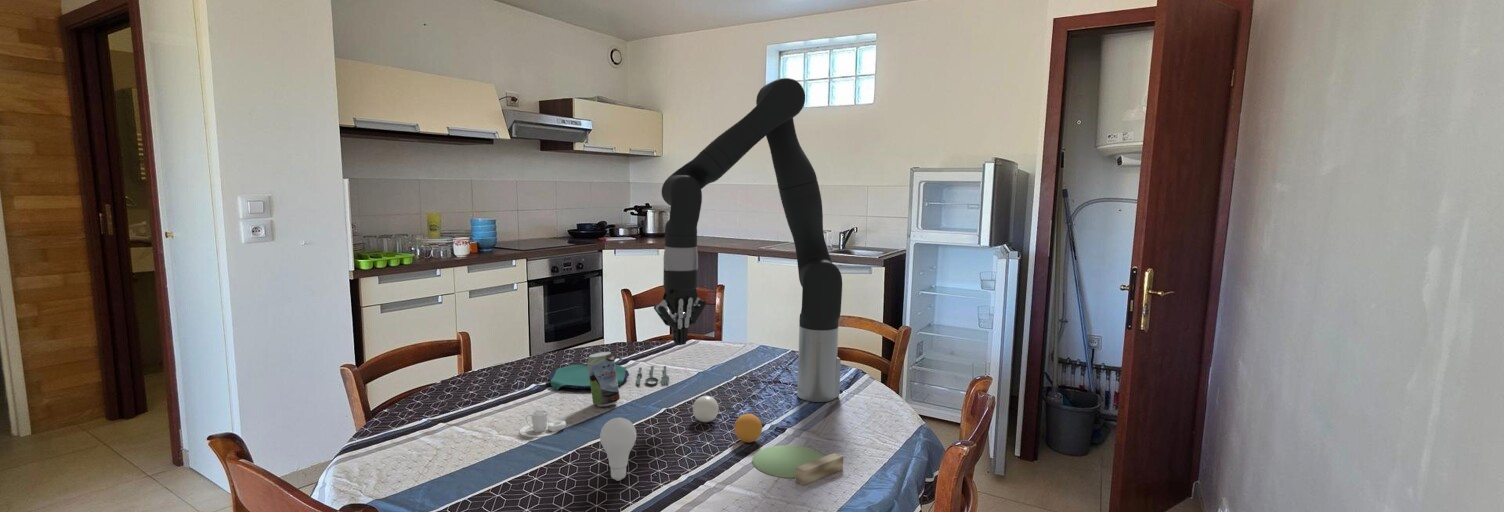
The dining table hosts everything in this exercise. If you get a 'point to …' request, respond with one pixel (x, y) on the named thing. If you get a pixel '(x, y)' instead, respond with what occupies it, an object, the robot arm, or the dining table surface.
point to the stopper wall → (819, 468)
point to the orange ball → (748, 428)
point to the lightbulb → (618, 444)
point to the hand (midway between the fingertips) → (680, 344)
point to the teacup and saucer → (542, 424)
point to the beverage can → (603, 379)
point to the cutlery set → (580, 379)
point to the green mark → (784, 459)
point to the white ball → (705, 409)
